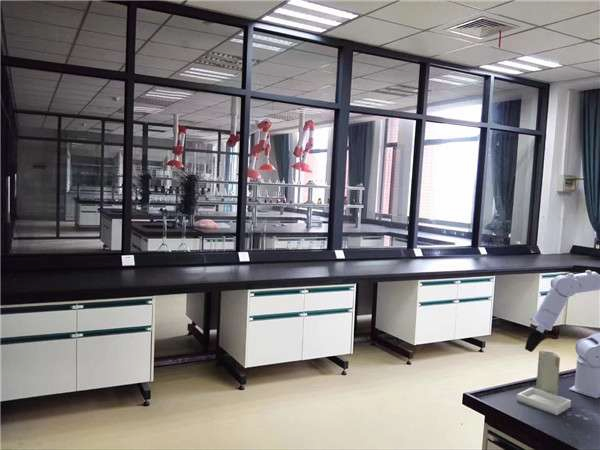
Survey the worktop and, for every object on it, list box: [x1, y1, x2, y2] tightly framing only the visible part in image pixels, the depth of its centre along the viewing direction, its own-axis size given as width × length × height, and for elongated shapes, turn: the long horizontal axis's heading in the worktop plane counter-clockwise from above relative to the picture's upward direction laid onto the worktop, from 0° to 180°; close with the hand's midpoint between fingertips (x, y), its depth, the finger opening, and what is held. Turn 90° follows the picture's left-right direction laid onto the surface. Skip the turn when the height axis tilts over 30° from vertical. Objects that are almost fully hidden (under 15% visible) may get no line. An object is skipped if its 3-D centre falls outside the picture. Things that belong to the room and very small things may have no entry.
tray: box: [516, 386, 572, 416], centre depth 142 cm, size 9×11×2 cm
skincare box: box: [535, 350, 561, 396], centre depth 149 cm, size 6×4×12 cm
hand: (528, 348), depth 156 cm, fingers open, 7 cm apart
